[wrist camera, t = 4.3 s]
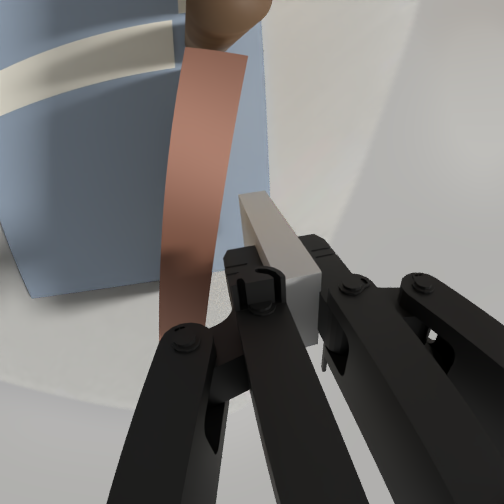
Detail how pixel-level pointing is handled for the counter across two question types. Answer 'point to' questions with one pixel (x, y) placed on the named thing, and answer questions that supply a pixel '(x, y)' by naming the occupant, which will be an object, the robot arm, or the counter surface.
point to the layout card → (105, 139)
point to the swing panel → (196, 181)
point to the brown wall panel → (221, 21)
